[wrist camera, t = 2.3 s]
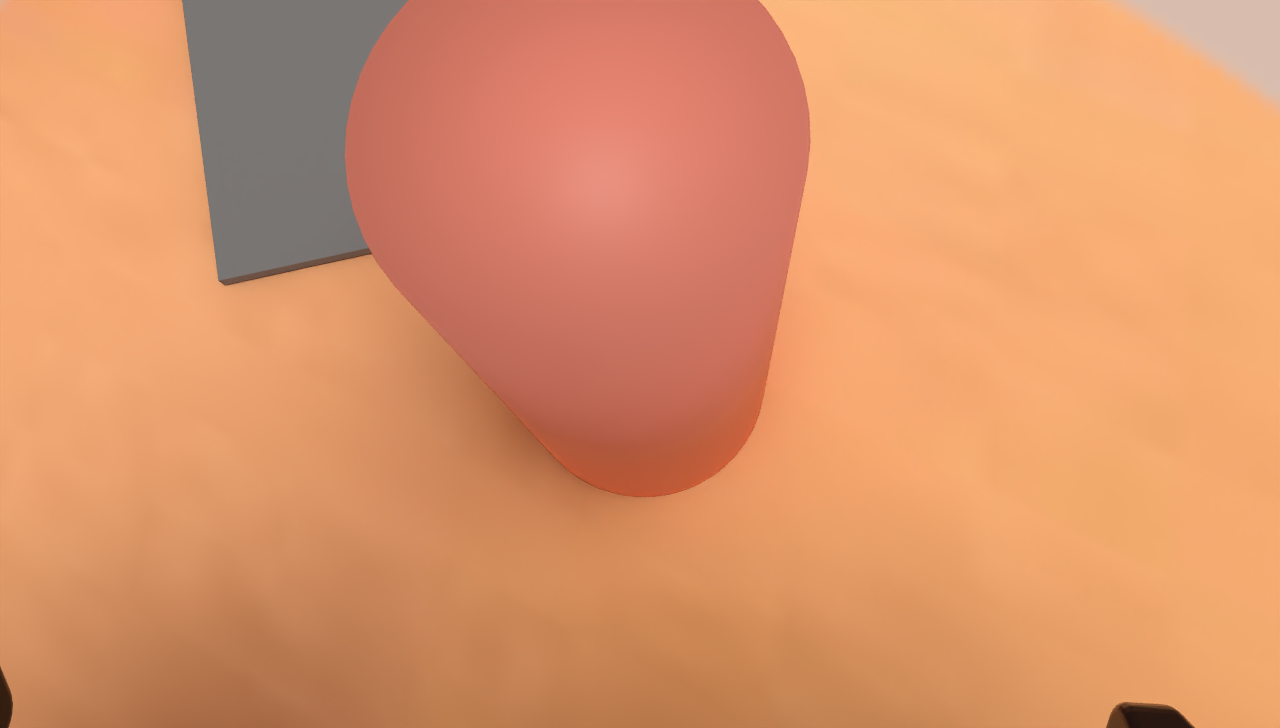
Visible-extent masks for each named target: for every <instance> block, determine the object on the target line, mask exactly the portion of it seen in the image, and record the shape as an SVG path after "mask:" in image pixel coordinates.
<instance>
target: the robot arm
mask: <svg viewBox="0 0 1280 728" xmlns="http://www.w3.org/2000/svg"><path fill="white" fill-rule="evenodd" d="M12 708H13V702H12V695H11V691H10V689H9V686H8V684H7V681H6V679H5V677H4V674H3V672H2V669H1V667H0V728H8V727H9V724H10V721H11V716H12ZM1106 728H1195V727H1194V726H1193V725H1192V724H1191V723H1190V722H1189V721H1188V720H1187V719H1186V718H1185V717H1184V716H1183V715H1182V714H1181V713H1180V712H1179V711H1177V710H1176V709H1174V708H1173V707H1170V706H1168V705H1162V704H1147V703H1132V702H1123V703H1119V704H1118V705H1116V706H1115V708H1114V709H1113V710H1112V712H1111V715H1110V717H1109V721H1108V724H1107V727H1106Z"/></svg>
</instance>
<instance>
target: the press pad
mask: <svg viewBox="0 0 1280 728" xmlns="http://www.w3.org/2000/svg"><path fill="white" fill-rule="evenodd" d="M407 1H408V0H182V2H183V10H184V18H185V25H186V33H187V41H188V49H189V56H190V64H191V72H192V79H193V87H194V95H195V103H196V110H197V118H198V126H199V133H200V141H201V149H202V156H203V164H204V172H205V180H206V187H207V195H208V203H209V210H210V218H211V226H212V234H213V241H214V249H215V257H216V264H217V272H218V280H219V281H220V282H221V283H223V284H224V285H228V284H233V283H237V282H242V281H246V280H251V279H255V278H260V277H265V276H269V275H274V274H278V273H283V272H288V271H292V270H297V269H301V268H306V267H311V266H315V265H320V264H324V263H329V262H333V261H338V260H343V259H347V258H352V257H356V256H361V255H366V254H370V253H372V252H371V251H370V249H369V247H368V245H367V244H366V242H365V240H364V238H363V235H362V233H361V230H360V227H359V225H358V222H357V220H356V217H355V214H354V212H353V207H352V203H351V199H350V194H349V190H348V186H347V176H346V164H345V143H346V127H347V122H348V116H349V111H350V106H351V100H352V97H353V94H354V91H355V88H356V85H357V82H358V79H359V76H360V73H361V71H362V69H363V67H364V65H365V63H366V61H367V59H368V57H369V55H370V53H371V50H372V48H373V47H374V45H375V44H376V42H377V41H378V39H379V37H380V36H381V34H382V33H383V31H384V30H385V28H386V27H387V25H388V24H389V22H390V21H391V20H392V19H393V18H394V17H395V15H396V14H397V13H398V12H399V11H400V9H401V8H402V7H403V6H404V5H405V3H406V2H407Z"/></svg>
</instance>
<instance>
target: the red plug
mask: <svg viewBox="0 0 1280 728" xmlns="http://www.w3.org/2000/svg"><path fill="white" fill-rule="evenodd" d="M809 150H810V121H809V109H808V104H807V98H806V93H805V88H804V83H803V80H802V77H801V74H800V71H799V68H798V65H797V62H796V59H795V57H794V55H793V53H792V51H791V49H790V47H789V45H788V43H787V41H786V39H785V37H784V35H783V33H782V31H781V30H780V28H779V27H778V25H777V24H776V23H775V21H774V20H773V18H772V17H771V15H770V14H769V12H768V11H767V9H766V8H765V7H764V6H763V5H762V4H761V3H760V2H759V1H758V0H408V1H407V2H406V3H405V5H404V6H403V7H402V8H401V9H400V11H399V12H398V13H397V14H396V15H395V17H394V18H393V19H392V20H391V21H390V22H389V24H388V25H387V27H386V28H385V30H384V31H383V33H382V34H381V36H380V37H379V39H378V41H377V42H376V44H375V45H374V47H373V48H372V50H371V53H370V55H369V57H368V59H367V61H366V63H365V65H364V67H363V69H362V71H361V73H360V76H359V79H358V82H357V85H356V88H355V91H354V94H353V97H352V100H351V106H350V111H349V116H348V122H347V127H346V143H345V164H346V176H347V186H348V190H349V194H350V199H351V203H352V207H353V212H354V214H355V217H356V220H357V222H358V225H359V227H360V230H361V233H362V235H363V238H364V240H365V242H366V244H367V245H368V247H369V249H370V251H371V252H372V254H373V256H374V258H375V260H376V261H377V263H378V265H379V266H380V267H381V269H382V270H383V271H384V273H385V274H386V275H387V277H388V278H389V279H390V281H391V282H392V283H393V284H394V286H395V287H396V288H397V289H398V290H399V291H400V292H401V294H402V295H403V296H404V297H405V298H406V299H407V300H408V301H409V302H410V303H411V304H412V305H413V306H414V307H415V309H416V310H417V311H418V312H419V313H420V314H421V315H422V316H423V317H424V318H425V319H426V320H427V321H428V322H429V323H430V325H431V326H432V327H433V328H434V329H435V330H436V331H437V332H438V333H439V334H440V335H441V336H442V337H443V338H444V339H445V341H446V342H447V343H448V344H449V345H450V346H451V347H452V348H453V349H454V350H455V351H456V352H457V353H458V354H459V355H460V357H461V358H462V359H463V360H464V361H465V362H466V363H467V364H468V365H469V366H470V367H471V368H472V369H473V370H474V372H475V373H476V374H477V375H478V376H479V377H480V378H481V379H482V380H483V381H484V382H485V383H486V384H487V385H488V386H489V388H490V389H491V390H492V391H493V392H494V393H495V394H496V395H497V396H498V397H499V398H500V399H501V400H502V401H503V402H504V404H505V405H506V406H507V407H508V408H509V409H510V410H511V411H512V412H513V413H514V414H515V415H516V416H517V417H518V418H519V420H520V421H521V422H522V423H523V424H524V425H525V426H526V427H527V428H528V429H529V430H530V431H531V432H532V433H533V434H534V436H535V437H536V438H537V439H538V440H539V441H540V442H541V443H542V444H543V445H544V446H545V447H546V448H547V449H548V451H549V452H550V453H551V454H552V455H553V456H554V457H555V458H556V459H557V460H558V461H559V462H560V463H561V464H562V465H563V466H564V467H565V468H566V469H568V470H569V471H570V472H572V473H573V474H574V475H576V476H577V477H578V478H580V479H582V480H584V481H585V482H587V483H589V484H591V485H593V486H595V487H598V488H600V489H603V490H605V491H608V492H612V493H616V494H620V495H626V496H635V497H654V496H661V495H668V494H672V493H676V492H679V491H683V490H686V489H688V488H690V487H693V486H695V485H697V484H700V483H701V482H703V481H705V480H706V479H708V478H710V477H711V476H713V475H714V474H716V473H717V472H718V471H719V470H721V469H722V468H723V467H725V466H726V465H727V464H728V463H729V462H730V461H731V460H732V459H733V458H734V456H735V455H736V454H737V453H738V452H739V450H740V449H741V448H742V446H743V445H744V444H745V442H746V441H747V439H748V437H749V435H750V434H751V432H752V430H753V428H754V426H755V423H756V421H757V418H758V416H759V413H760V409H761V405H762V400H763V396H764V391H765V386H766V380H767V375H768V370H769V365H770V360H771V355H772V350H773V345H774V339H775V334H776V329H777V324H778V319H779V314H780V309H781V304H782V298H783V293H784V288H785V283H786V278H787V273H788V268H789V263H790V258H791V252H792V247H793V242H794V237H795V232H796V227H797V222H798V217H799V211H800V206H801V201H802V196H803V191H804V186H805V181H806V176H807V170H808V160H809Z"/></svg>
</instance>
